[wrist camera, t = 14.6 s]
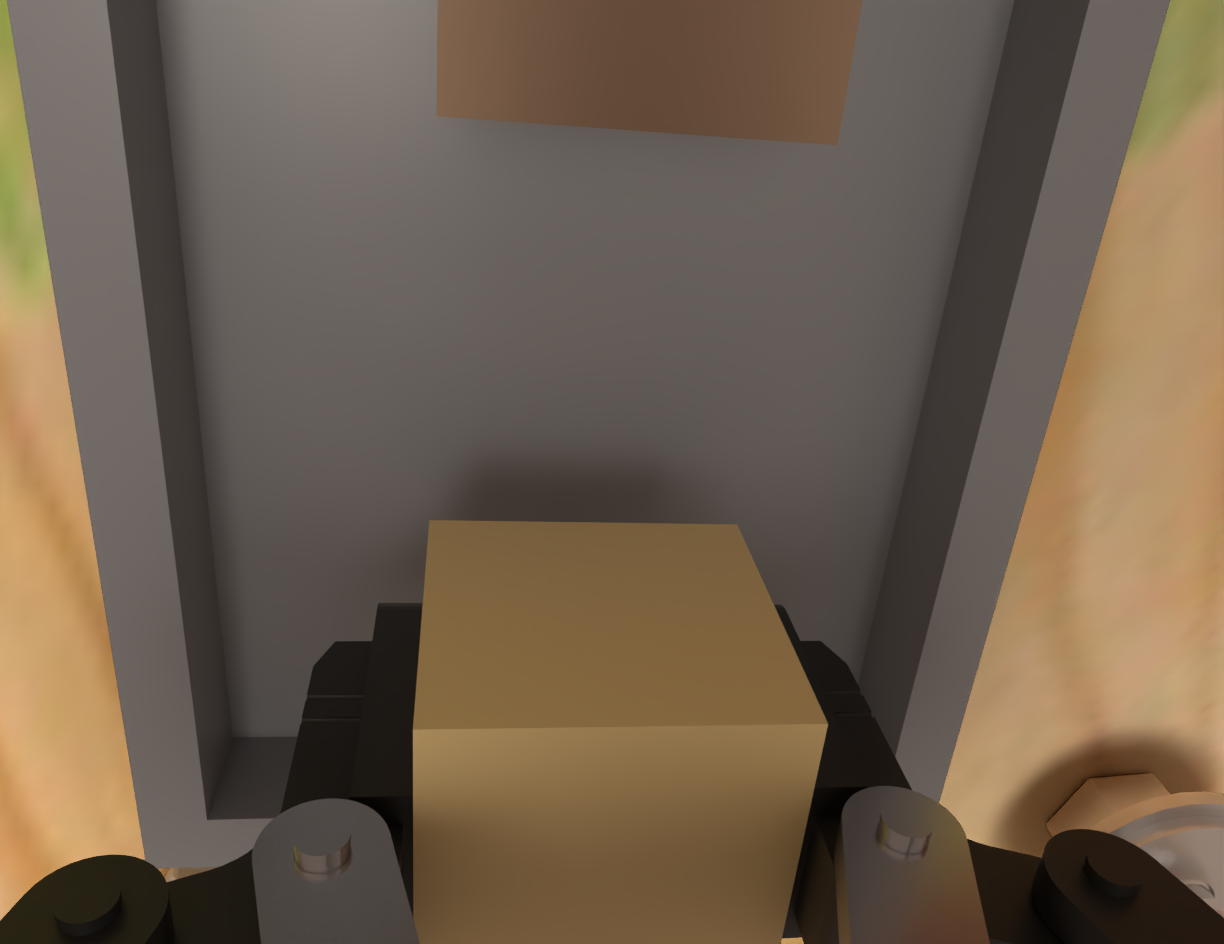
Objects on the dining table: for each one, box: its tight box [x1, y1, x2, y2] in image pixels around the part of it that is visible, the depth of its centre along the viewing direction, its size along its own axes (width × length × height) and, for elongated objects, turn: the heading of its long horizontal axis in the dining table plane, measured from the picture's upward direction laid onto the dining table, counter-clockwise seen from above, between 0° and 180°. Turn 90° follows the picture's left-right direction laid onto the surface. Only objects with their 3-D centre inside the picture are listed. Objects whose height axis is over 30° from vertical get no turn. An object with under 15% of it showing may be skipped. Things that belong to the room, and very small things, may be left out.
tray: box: [7, 0, 1170, 868], centre depth 14 cm, size 13×19×2 cm
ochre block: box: [413, 520, 828, 944], centre depth 13 cm, size 4×4×4 cm
